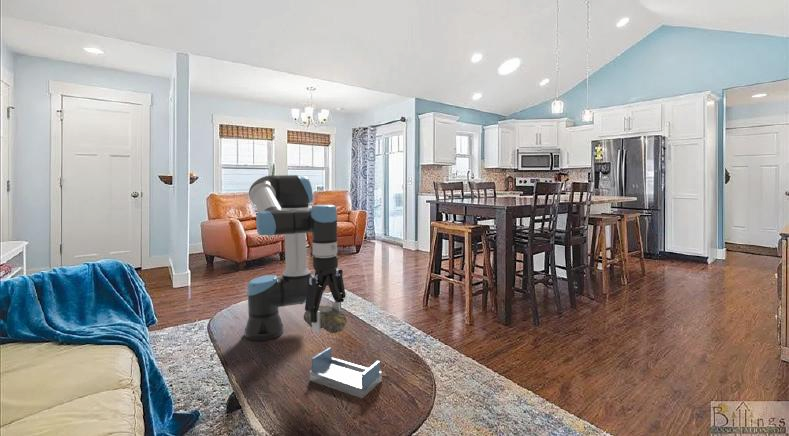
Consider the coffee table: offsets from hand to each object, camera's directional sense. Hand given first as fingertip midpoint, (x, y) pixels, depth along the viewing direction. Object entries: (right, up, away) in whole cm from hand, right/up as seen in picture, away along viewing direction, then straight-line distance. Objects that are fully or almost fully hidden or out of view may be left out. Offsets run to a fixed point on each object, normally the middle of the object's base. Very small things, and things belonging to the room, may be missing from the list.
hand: (326, 326), depth 120 cm
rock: (-1, -1, +1) cm, 1 cm away
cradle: (+6, -18, +2) cm, 19 cm away
